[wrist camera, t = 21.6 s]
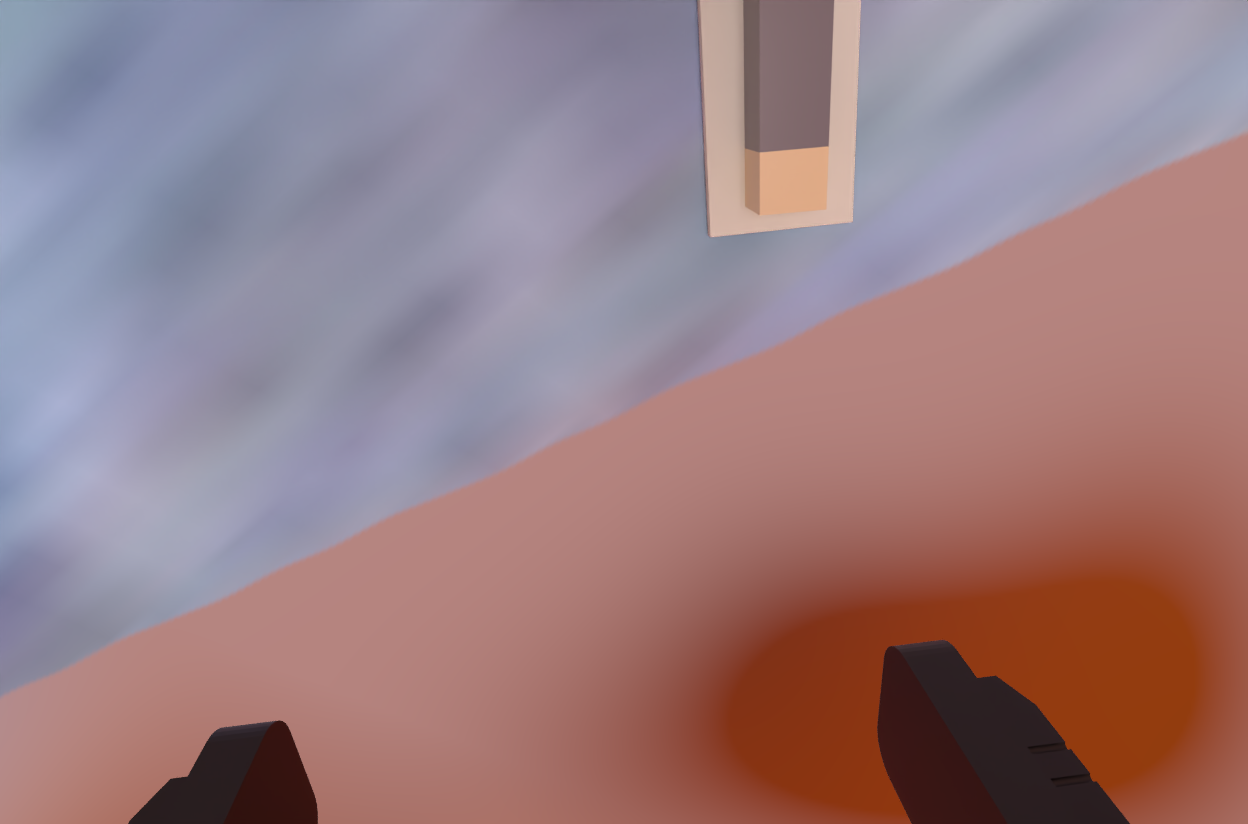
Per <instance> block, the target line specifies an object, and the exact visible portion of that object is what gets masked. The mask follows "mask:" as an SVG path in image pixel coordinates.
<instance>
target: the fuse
mask: <svg viewBox="0 0 1248 824" xmlns="http://www.w3.org/2000/svg"><path fill="white" fill-rule="evenodd" d="M743 18H744V130H745V207H747V208H748V209H750V210H752V211H753V212H755V213H756V214H758V215H760V216H761V215H772V214H783V213H794V212H805V211H816V210H826V207H827V181H828V154H829V127H830V100H831V73H832V46H833V20H834V0H743Z"/></svg>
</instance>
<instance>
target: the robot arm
mask: <svg viewBox="0 0 1248 824" xmlns="http://www.w3.org/2000/svg"><path fill="white" fill-rule="evenodd" d="M877 729H878V730H877V731H878V742H879V747H880V752H881V756H882V759H883V763H884V766H885V768H886V771H887V774H888V776H889V778H890V780H891V782H892V784H893V786H894V788H895V790H896V793H897V795H898V797H899V799H900V801H901V803H902V805H903V807H904V809H905V811H906V813H907V815H908V817H909V819H910V821H911V823H912V824H1130V823H1129V822H1128V821H1127V819H1126V818H1125V817H1124V816H1123V815H1122V813H1121V812H1120V811H1119V809H1118V808H1117V807H1116V806H1115V804H1114V803H1113V802H1112V801H1111V799H1110V798H1109V797H1108V795H1107V794H1106V793H1105V792H1104V791H1103V789H1102V788H1101V787H1100V785H1099V784H1098V783H1097V782H1093V781H1092V779H1091V777H1090V773H1089V771H1088V770H1087V769H1086V768H1085V766H1084V765H1083V764H1082V763H1081V761H1080V760H1079V759H1078V758H1077V756H1076V755H1075V754H1074V753H1073V751H1072V750H1071V749H1070V750H1068V749H1067V748H1066V746H1065V741H1064V740H1063V739H1062V737H1061V736H1060V735H1059V734H1058V732H1057V731H1056V730H1055V729H1054V727H1053V726H1052V725H1051V724H1050V722H1049V721H1048V720H1047V718H1046V717H1045V716H1044V715H1043V713H1042V712H1041V711H1040V710H1039V709H1038V707H1037V706H1036V705H1035V704H1034V703H1032V702H1031V701H1030V700H1028V699H1027V698H1026V697H1024V696H1023V695H1021V694H1020V693H1018V692H1017V691H1016V690H1015V689H1013V688H1012V687H1010V686H1009V685H1008V684H1006V683H1005V682H1003V681H1002V680H1001V679H1000V678H998V677H997V676H990V677H983V678H977V677H976V676H975V675H974V673H973V672H972V671H971V669H970V668H969V666H968V665H967V664H966V662H965V661H964V660H963V658H962V657H961V655H960V654H959V653H958V651H957V650H956V649H955V648H954V646H953V645H951V644H950V643H949V642H948V641H945V640H938V641H930V642H923V643H914V644H907V645H899V646H890V647H888V648H887V650H886V652H885V656H884V664H883V674H882V684H881V694H880V704H879V715H878V726H877ZM128 824H318V811H317V803H316V798H315V795H314V792H313V790H312V787H311V785H310V782H309V779H308V777H307V774H306V772H305V769H304V766H303V764H302V761H301V758H300V756H299V753H298V750H297V748H296V745H295V743H294V740H293V737H292V735H291V732H290V730H289V728H288V726H287V725H286V723H284V722H283V721H272V722H264V723H257V724H248V725H240V726H232V727H224V728H220V729H218V730H216V731H215V732H214V733H213V734H212V735H211V736H210V738H209V739H208V741H207V742H206V744H205V746H204V748H203V750H202V752H201V753H200V755H199V757H198V759H197V761H196V762H195V764H194V766H193V768H192V770H191V771H190V774H189V775H188V777H181V778H173V779H170V780H169V781H168V782H167V783H166V784H165V785H164V786H163V787H162V788H161V789H160V790H159V791H158V792H157V793H156V794H155V795H154V796H153V797H152V798H151V799H150V800H149V801H148V803H147V804H146V805H145V806H144V807H143V808H142V809H141V810H140V811H139V812H138V813H137V814H136V815H135V816H134V817H133V818H132V819H131V820H130V821H129V823H128Z"/></svg>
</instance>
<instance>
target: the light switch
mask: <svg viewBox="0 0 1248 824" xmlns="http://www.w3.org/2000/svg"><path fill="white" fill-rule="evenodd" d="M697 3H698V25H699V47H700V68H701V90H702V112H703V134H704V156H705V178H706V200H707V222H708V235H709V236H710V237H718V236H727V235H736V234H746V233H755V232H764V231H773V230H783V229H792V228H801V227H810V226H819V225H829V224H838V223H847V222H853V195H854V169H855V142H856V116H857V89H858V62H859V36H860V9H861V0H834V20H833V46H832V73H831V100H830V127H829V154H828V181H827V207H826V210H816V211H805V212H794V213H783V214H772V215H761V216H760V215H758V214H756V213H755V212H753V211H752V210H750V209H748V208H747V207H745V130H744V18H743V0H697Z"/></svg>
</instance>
